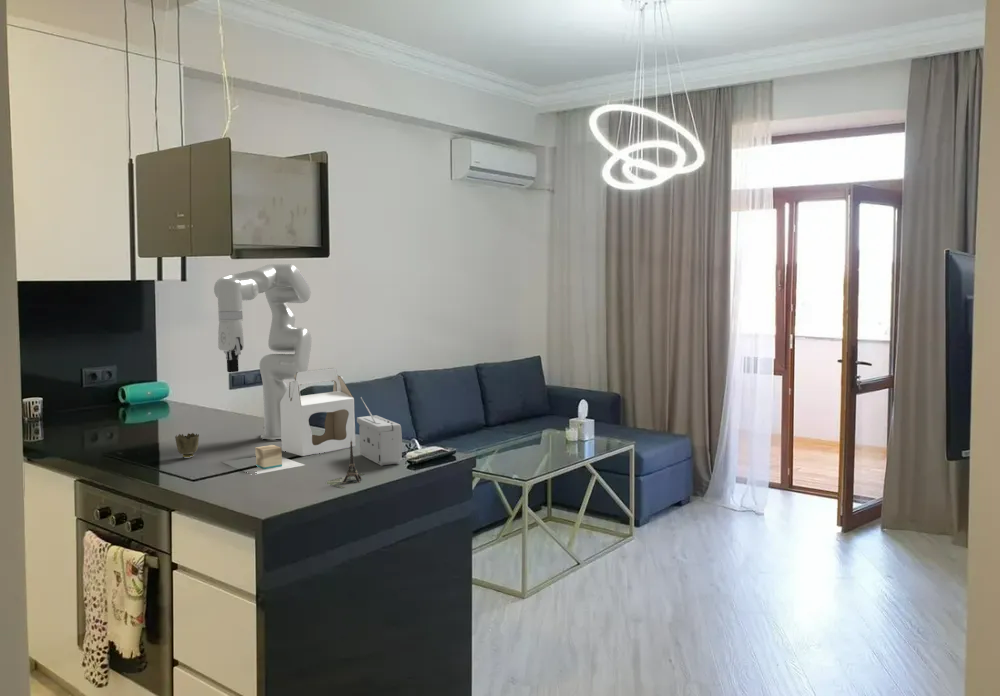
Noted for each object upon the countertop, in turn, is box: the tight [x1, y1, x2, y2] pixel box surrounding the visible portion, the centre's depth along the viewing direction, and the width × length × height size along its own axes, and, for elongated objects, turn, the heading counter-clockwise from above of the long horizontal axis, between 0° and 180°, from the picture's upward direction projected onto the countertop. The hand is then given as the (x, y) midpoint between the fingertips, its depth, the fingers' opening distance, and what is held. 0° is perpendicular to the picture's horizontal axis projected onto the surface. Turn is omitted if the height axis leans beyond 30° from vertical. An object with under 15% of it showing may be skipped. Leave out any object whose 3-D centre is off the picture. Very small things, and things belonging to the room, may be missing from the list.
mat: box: [246, 456, 305, 476], centre depth 257 cm, size 24×18×1 cm
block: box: [254, 444, 283, 469], centre depth 253 cm, size 6×6×6 cm
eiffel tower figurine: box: [326, 441, 366, 489], centre depth 235 cm, size 15×10×13 cm
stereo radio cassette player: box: [356, 396, 403, 467], centre depth 261 cm, size 21×8×20 cm, turn 30°
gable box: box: [280, 367, 356, 457], centre depth 278 cm, size 22×13×28 cm, turn 137°
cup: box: [174, 432, 200, 457], centre depth 267 cm, size 8×7×8 cm
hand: (232, 371), depth 264 cm, fingers closed
